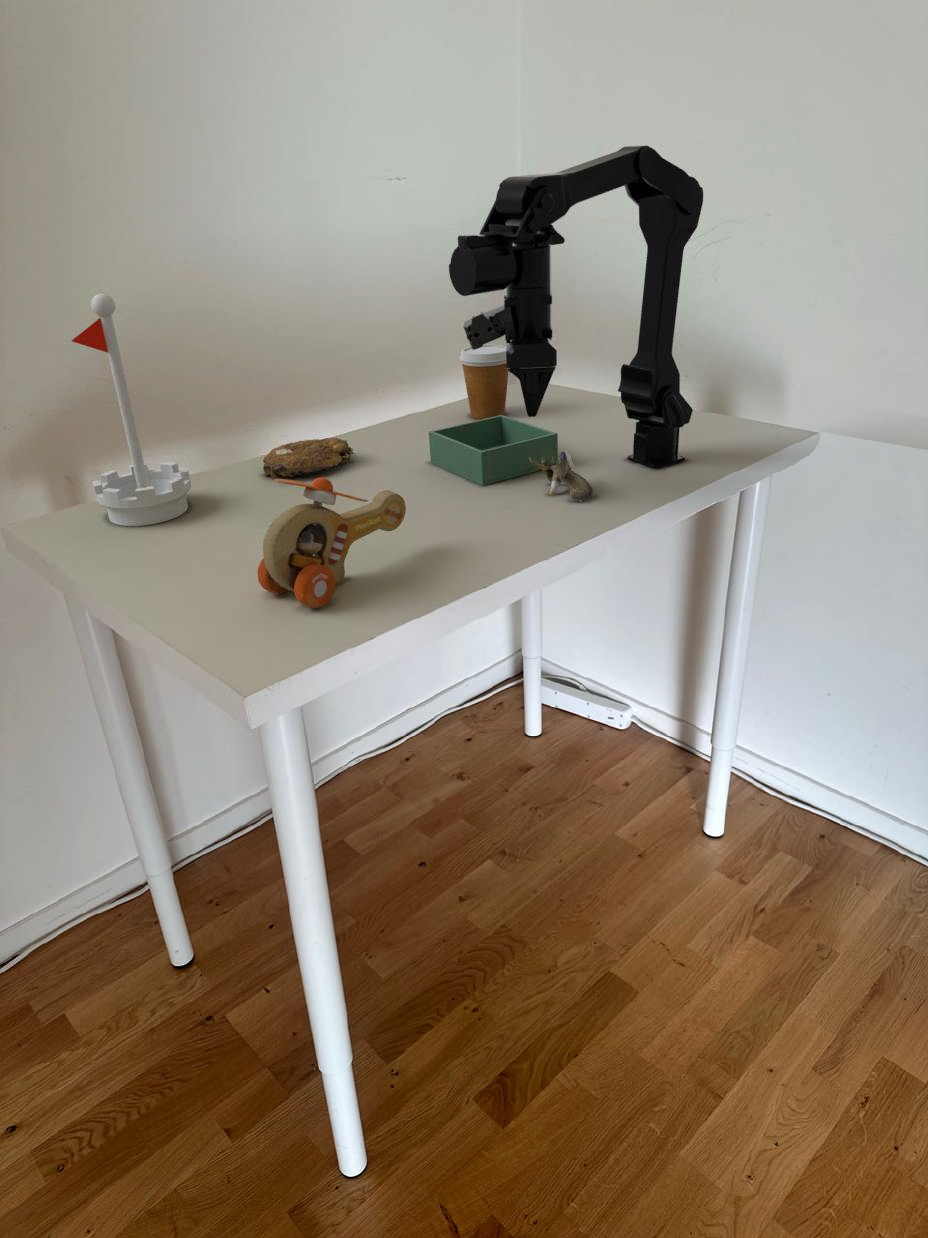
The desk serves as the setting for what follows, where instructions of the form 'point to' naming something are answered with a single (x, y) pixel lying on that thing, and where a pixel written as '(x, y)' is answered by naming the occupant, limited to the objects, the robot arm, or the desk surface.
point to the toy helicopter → (320, 541)
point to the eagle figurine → (565, 477)
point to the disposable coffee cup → (485, 380)
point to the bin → (492, 448)
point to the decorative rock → (306, 457)
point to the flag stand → (132, 446)
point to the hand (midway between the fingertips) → (530, 407)
